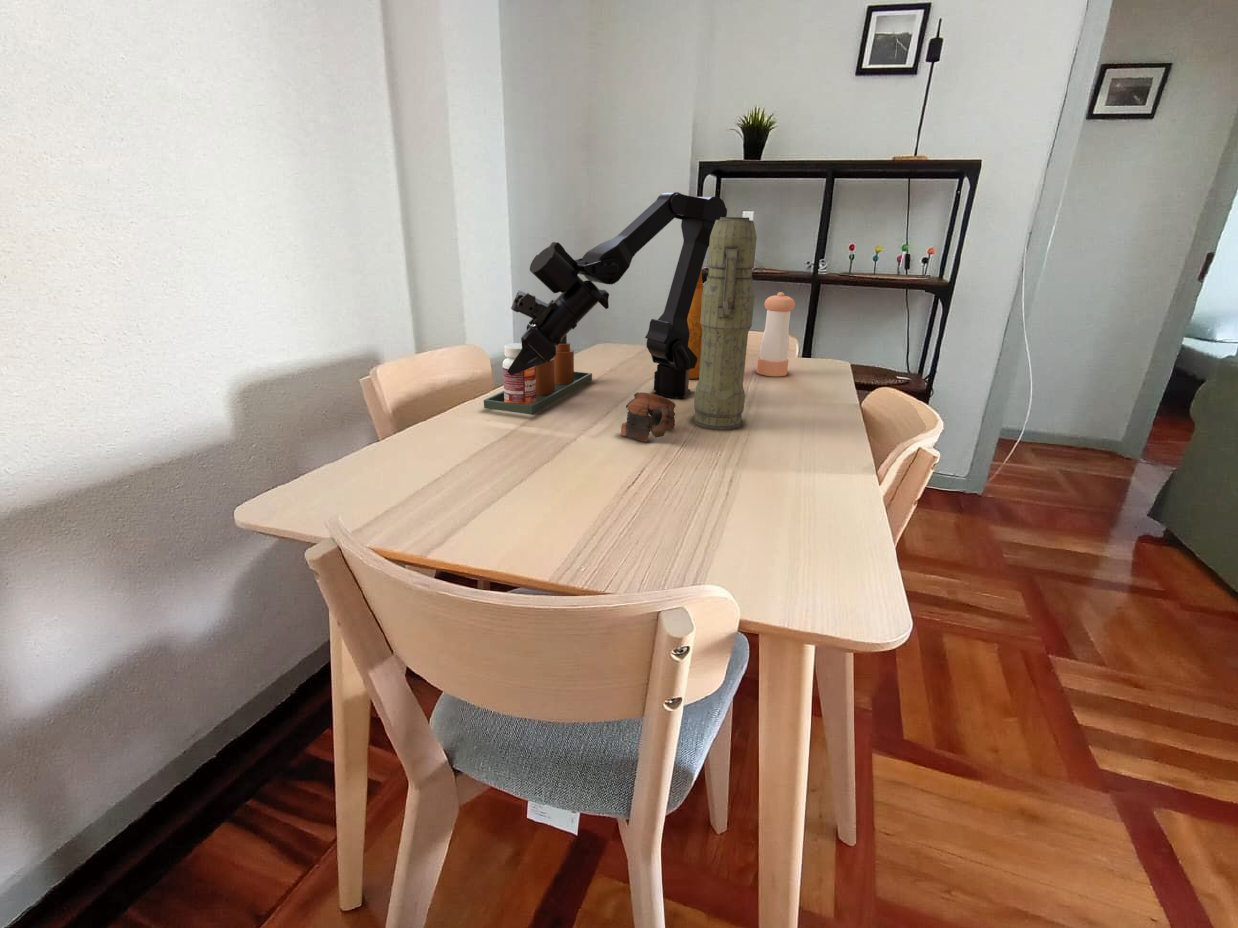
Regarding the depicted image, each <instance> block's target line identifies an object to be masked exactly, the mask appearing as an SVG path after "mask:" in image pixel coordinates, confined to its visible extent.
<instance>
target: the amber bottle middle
mask: <svg viewBox="0 0 1238 928" xmlns="http://www.w3.org/2000/svg"><path fill="white" fill-rule="evenodd" d="M554 392H555V378H554V358H552V359H551V360H550V361H549V362H546V363H542V364H540V365H537V366H536V395H537V396H547V395H551V394H552V393H554Z"/></svg>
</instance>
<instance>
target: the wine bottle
mask: <svg viewBox="0 0 1238 928" xmlns="http://www.w3.org/2000/svg"><path fill="white" fill-rule="evenodd" d="M702 269H703V268H702ZM702 269H701V273H700V276H699V280H698V283H697V287H696V290H695V294H694V297H693V300H692V304H691V307H690V311H689V314H688V318H687V322H688V327H689V333H690V337H689V343H688V347H689V348H690V349H691V351H692V352H693V353H694V354H695V356H696V357H697V358H698V360H697V363H696V366H695V368H692V369H690V370H689V380H695V379H696V380H697V379H698V380H699V371H700V357H701V343H702V327H701V324H700V319H701V305H702V293H703V290H704V283H703V271H702Z"/></svg>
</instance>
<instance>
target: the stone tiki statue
mask: <svg viewBox="0 0 1238 928" xmlns="http://www.w3.org/2000/svg"><path fill="white" fill-rule="evenodd" d="M754 221H755V220H753V219H752V220H751V219H750V217H737V216H736V217H735V216H726V217H720V220H716V221H715V224H714V226H713V229H712V232H711V235H710V243H709V247H708V257H707V259H708V260H707V267H708V273H707V274H708V275H706V282H705V285H704V287H703V289H704V290H703V293H702V305H701V319H700V324H701V327H702V343H701V357H700V371H699V378H698V381H697V384H696V386H695V390H694V399H693V400H694V401H693V408H694V417H693V423H694V424H695V425H697V426H699V427H701V428H704V429H709V430H716V431H727V430H734V429H737V428H740V427H741V425H742V417H743V416H742V415H743V412H744V411H745V410H744V409H745V398H746V393H745V388H744V378H745V368H746V360H747V359H746V358H747V349H748V338H749V332H750V330H751V328H752V325H753V317H754V307H755V297H756V295H755V291H754V286H753V280H754V278H753V277H752V276H753V269H754V268H755V261H756V259H755V258H756V249H757V241H758V238H757V231H756V226H755V222H754Z"/></svg>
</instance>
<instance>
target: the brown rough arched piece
mask: <svg viewBox="0 0 1238 928" xmlns="http://www.w3.org/2000/svg"><path fill="white" fill-rule="evenodd" d="M633 397H634V398H633V399H631V400H630V401H629V402H627V404H626V405H625V408H626V409H627V415H626V422H623V423H621V426H620V436H621V437H627V438H630V439H634V440H637V441H640V442H644V443H647V442H648V441H649V436H650V433H651V434H652V436H653V437H655V438H656V439H658V438H662V437H664V436H665V433H666V432H667V431H671V430H674V429H675V426H676V423H675V422H676V420H675V416H676V412H675V408H676V407H677V406H676V404H675V402H673V401H672V400H670V399H669V398H667V397H663V396H658V395H655V394H653V393H650V392H642V391H641V392H635V393H634V395H633Z"/></svg>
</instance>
